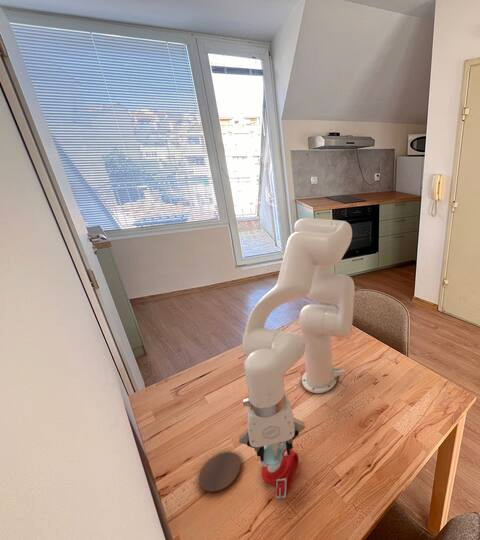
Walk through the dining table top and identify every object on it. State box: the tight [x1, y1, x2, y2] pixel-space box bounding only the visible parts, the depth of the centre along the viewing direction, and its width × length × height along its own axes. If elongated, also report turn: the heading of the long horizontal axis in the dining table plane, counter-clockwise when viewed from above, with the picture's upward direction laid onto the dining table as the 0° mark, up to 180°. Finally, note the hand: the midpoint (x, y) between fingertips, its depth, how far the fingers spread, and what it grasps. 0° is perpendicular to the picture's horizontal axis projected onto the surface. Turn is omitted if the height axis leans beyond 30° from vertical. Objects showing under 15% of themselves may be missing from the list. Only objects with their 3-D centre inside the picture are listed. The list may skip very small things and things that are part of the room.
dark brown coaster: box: [198, 451, 242, 494], centre depth 78 cm, size 10×10×1 cm
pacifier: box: [259, 441, 286, 467], centre depth 72 cm, size 7×6×6 cm
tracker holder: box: [261, 448, 300, 499], centre depth 77 cm, size 12×4×10 cm
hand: (275, 452), depth 73 cm, fingers closed on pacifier, 5 cm apart
